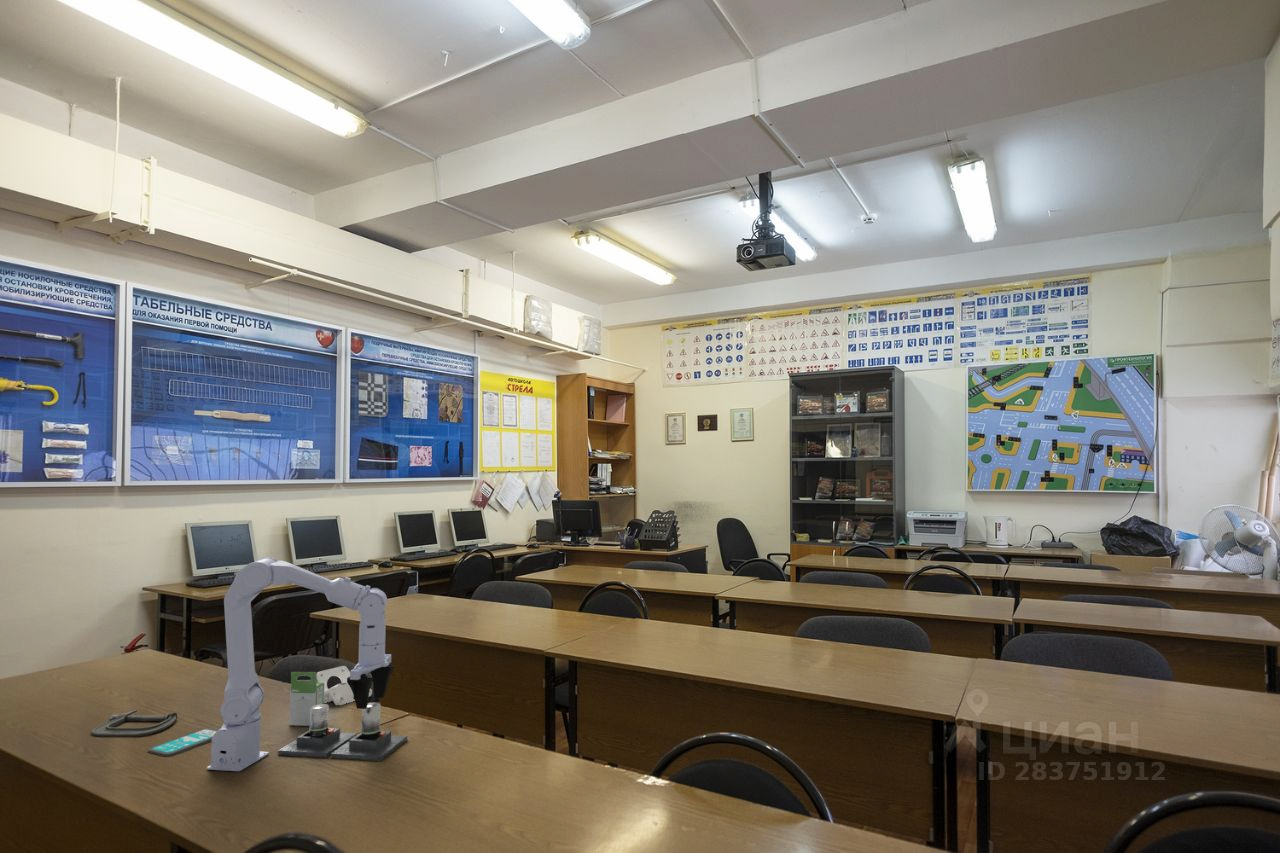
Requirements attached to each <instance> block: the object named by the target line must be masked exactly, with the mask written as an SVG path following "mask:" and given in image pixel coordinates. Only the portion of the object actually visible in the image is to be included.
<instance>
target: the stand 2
mask: <svg viewBox="0 0 1280 853" xmlns="http://www.w3.org/2000/svg"><path fill="white" fill-rule="evenodd" d="M407 741H408V735H398V734H397V735H393V734H392V731H391V730H381V729H380V732H378V733H376V734H373V735H363V734H361V732H359V733H357V735H356V736H355V737H353V738H352V739H350V740H349V742H347V743H346V744H344V745H343V746H341V747H340V748H338V749H337V750H335V751H334V752H333V753H331V755H330V759H337V758H338V759H340V760H354V761H355V760H356V761H358V760H359V761H369V762H370V761H372V762H382V761H383V760H384V759H385V758H387V757H388V756H390V755H391V754H392V753H393V752H395V751H396V750H397V749H398V748H399V747H401V746H402V745H404V743H406V742H407ZM338 759H337V760H338Z"/></svg>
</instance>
